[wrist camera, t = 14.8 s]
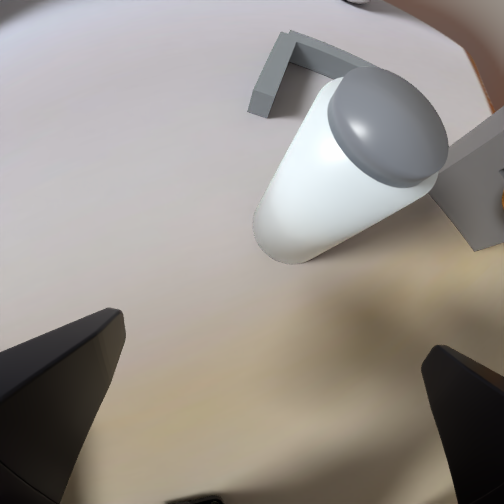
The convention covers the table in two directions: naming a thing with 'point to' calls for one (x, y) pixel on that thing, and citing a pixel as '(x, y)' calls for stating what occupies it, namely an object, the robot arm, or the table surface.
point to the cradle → (305, 55)
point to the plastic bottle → (359, 1)
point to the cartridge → (350, 165)
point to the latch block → (475, 183)
